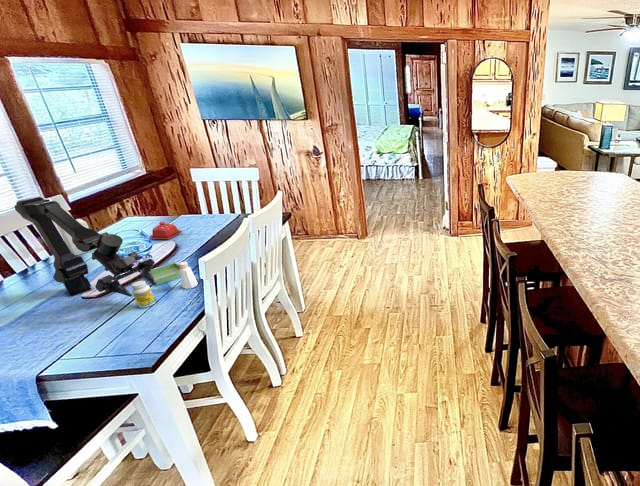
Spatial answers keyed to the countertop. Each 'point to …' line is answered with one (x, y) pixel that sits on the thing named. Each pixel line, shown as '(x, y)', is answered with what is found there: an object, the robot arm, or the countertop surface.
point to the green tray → (166, 273)
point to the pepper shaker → (187, 276)
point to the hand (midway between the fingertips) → (143, 290)
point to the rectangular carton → (68, 239)
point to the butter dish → (164, 231)
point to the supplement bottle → (143, 294)
